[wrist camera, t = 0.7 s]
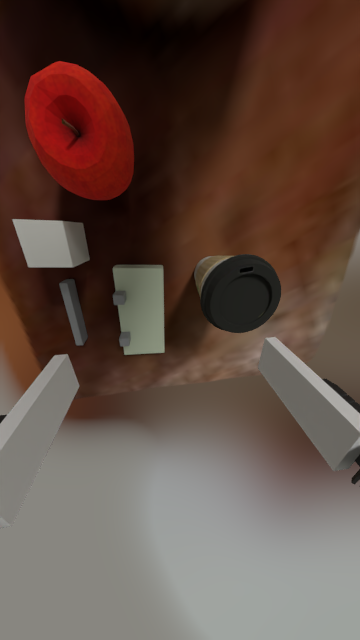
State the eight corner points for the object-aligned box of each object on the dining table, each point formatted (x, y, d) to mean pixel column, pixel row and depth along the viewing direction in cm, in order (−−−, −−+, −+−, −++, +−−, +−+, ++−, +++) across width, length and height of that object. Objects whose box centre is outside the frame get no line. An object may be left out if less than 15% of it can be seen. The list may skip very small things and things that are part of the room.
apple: (81, 92, 22) (8, -42, 11) (152, 154, 25) (150, 97, 14) (54, 176, 25) (-22, 135, 14) (121, 221, 28) (100, 216, 18)
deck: (62, 264, 30) (44, 271, 25) (162, 264, 32) (163, 271, 27) (84, 347, 38) (73, 365, 33) (163, 343, 40) (165, 360, 35)
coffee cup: (188, 302, 36) (207, 344, 23) (181, 250, 31) (200, 265, 18) (235, 293, 36) (281, 329, 23) (235, 241, 32) (292, 248, 18)
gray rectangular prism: (44, 221, 27) (12, 219, 21) (82, 223, 28) (62, 220, 22) (55, 259, 30) (28, 267, 23) (90, 259, 30) (73, 267, 24)
